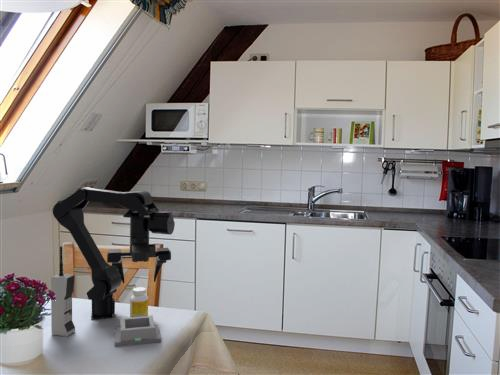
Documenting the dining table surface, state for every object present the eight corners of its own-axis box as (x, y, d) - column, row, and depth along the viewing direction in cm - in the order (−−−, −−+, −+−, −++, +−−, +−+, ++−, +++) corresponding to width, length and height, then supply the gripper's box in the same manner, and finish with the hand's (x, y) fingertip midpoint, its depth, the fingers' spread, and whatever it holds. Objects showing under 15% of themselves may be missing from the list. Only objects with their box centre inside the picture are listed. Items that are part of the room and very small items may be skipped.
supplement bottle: (127, 318, 134) (127, 288, 134) (143, 314, 138) (143, 285, 137) (134, 324, 130) (134, 292, 130) (151, 320, 134) (151, 289, 133)
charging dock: (114, 346, 115) (114, 331, 114) (115, 331, 124) (115, 318, 124) (160, 342, 118) (160, 327, 118) (157, 327, 128) (157, 314, 127)
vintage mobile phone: (67, 337, 120) (66, 248, 118) (51, 335, 121) (50, 247, 119) (75, 331, 124) (74, 245, 122) (59, 329, 125) (59, 244, 123)
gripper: (106, 238, 122) (106, 292, 123) (173, 236, 127) (172, 288, 128) (107, 231, 132) (107, 281, 133) (169, 229, 138) (168, 277, 139)
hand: (139, 282), depth 133 cm, fingers open, 9 cm apart
